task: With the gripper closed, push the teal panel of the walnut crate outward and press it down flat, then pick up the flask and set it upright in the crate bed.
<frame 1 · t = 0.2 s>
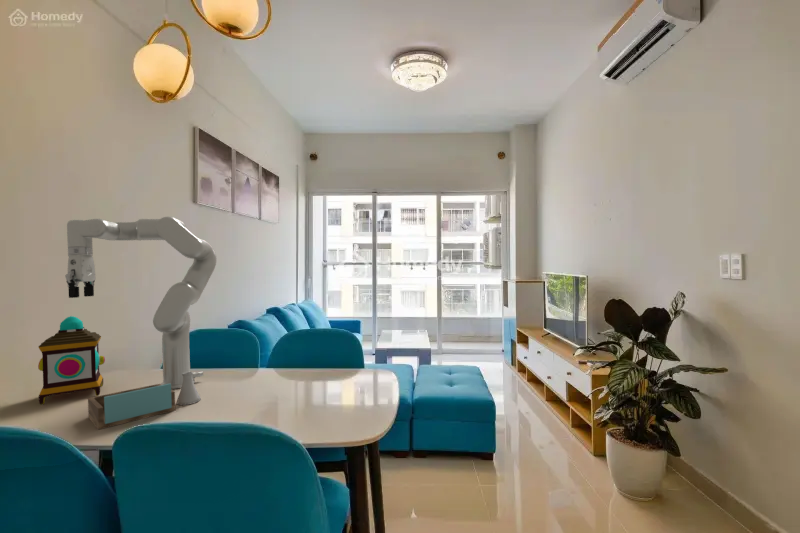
hand: (81, 296, 155), 37 cm above the table, tool pointing down, fingers open, 9 cm apart
crate: (132, 413, 128), on the table
flask: (188, 402, 138), on the table
decorative lantern: (73, 395, 154), on the table
teal panel: (139, 402, 122), point 5 cm above the table, hinge at 0.0°
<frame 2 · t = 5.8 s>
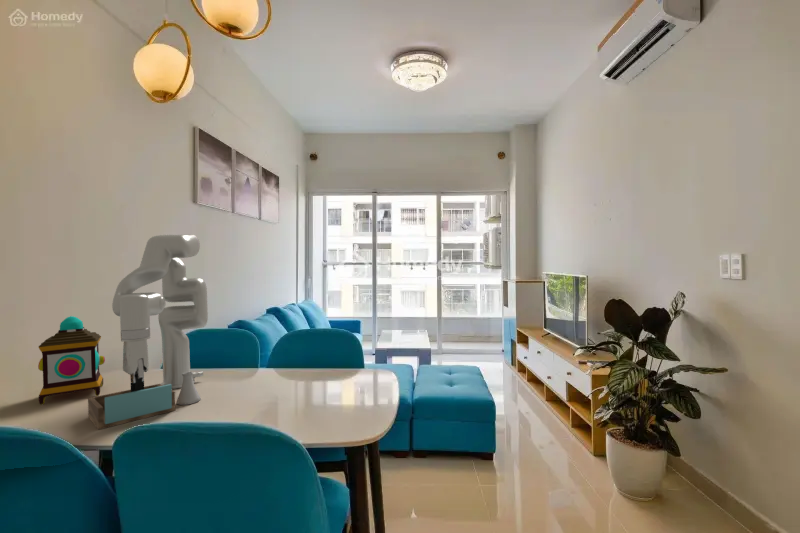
hand: (137, 394, 123), 7 cm above the table, tool pointing down, fingers closed
teal panel: (139, 403, 122), point 5 cm above the table, hinge at 5.6°, touching gripper
everything else where it was.
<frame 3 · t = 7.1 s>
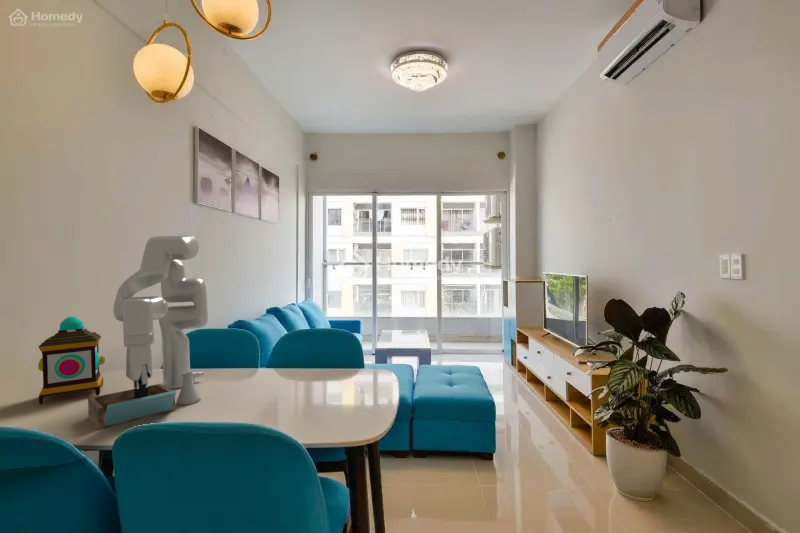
hand: (141, 401, 121), 6 cm above the table, tool pointing down, fingers closed
teal panel: (141, 407, 121), point 4 cm above the table, hinge at 36.5°, touching gripper
everything else where it was.
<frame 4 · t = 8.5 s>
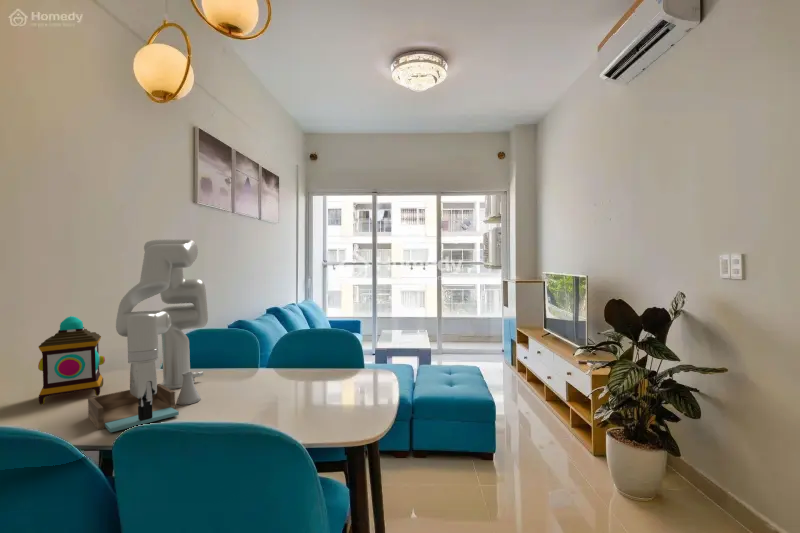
hand: (145, 418, 118), 2 cm above the table, tool pointing down, fingers closed
teal panel: (142, 418, 120), point 1 cm above the table, hinge at 89.0°
everything else where it was.
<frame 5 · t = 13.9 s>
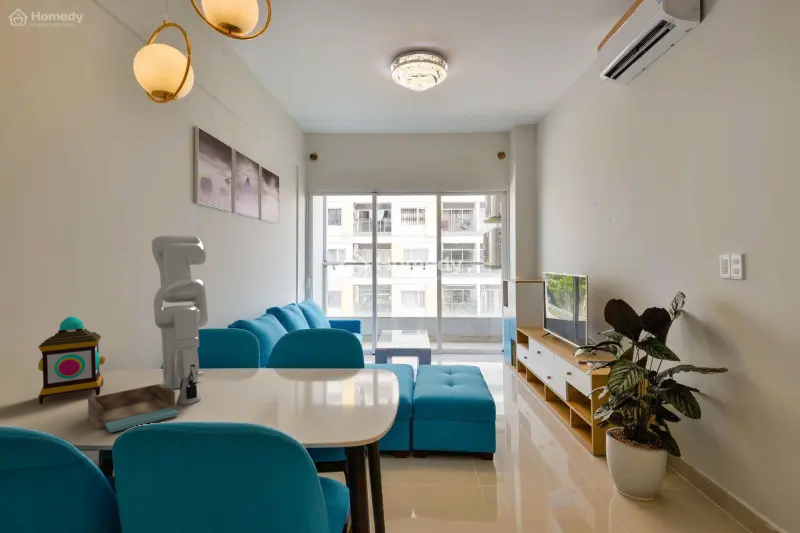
hand: (188, 396, 138), 2 cm above the table, tool pointing down, fingers closed on flask, 5 cm apart
flask: (188, 402, 138), on the table, touching gripper
everything else where it was.
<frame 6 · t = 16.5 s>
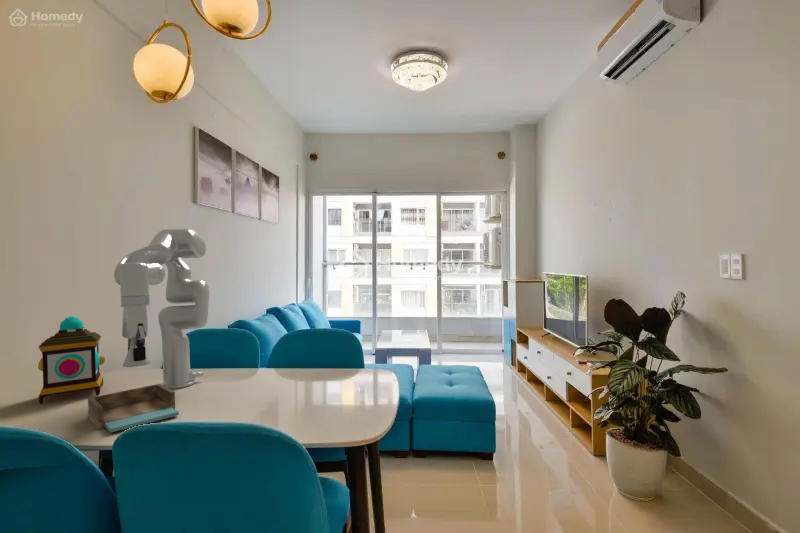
hand: (136, 358, 127), 18 cm above the table, tool pointing down, fingers closed on flask, 5 cm apart
flask: (137, 365, 127), point 15 cm above the table, touching gripper
everything else where it was.
when the fingers open (5 cm above the table, at t = 19.4 s): flask drops 1 cm, resting on crate.
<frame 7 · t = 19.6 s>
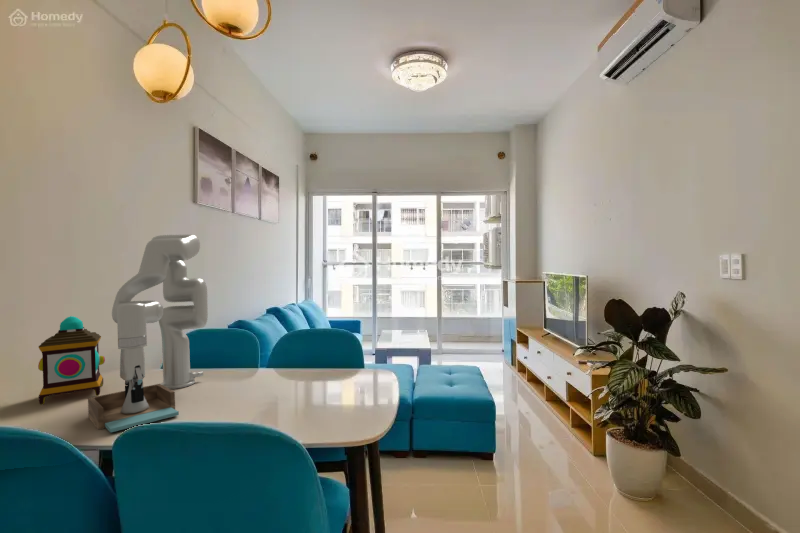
hand: (134, 399, 126), 5 cm above the table, tool pointing down, fingers open, 6 cm apart
flask: (135, 411, 126), point 1 cm above the table, touching crate
everything else where it was.
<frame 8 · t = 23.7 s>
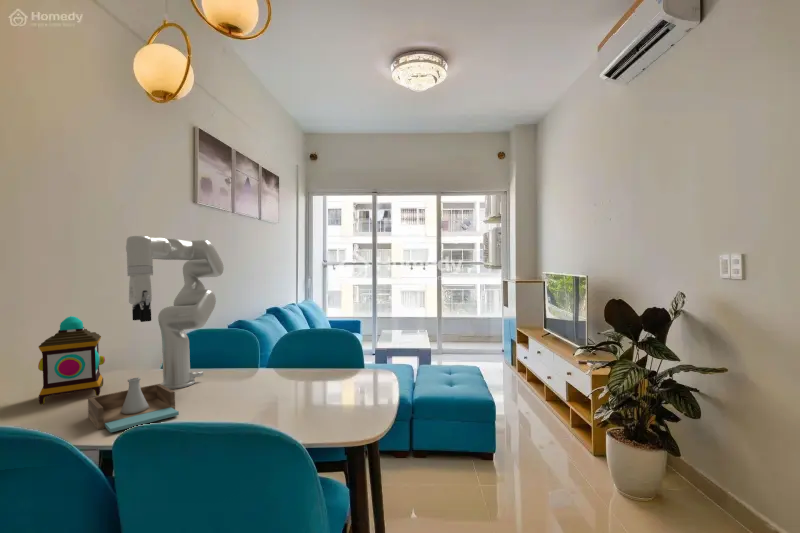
hand: (141, 320, 141), 28 cm above the table, tool pointing down, fingers open, 9 cm apart
nothing on the table moved.
at the end: teal panel at +89° (first picture: +0°); flask inside the target area on the crate (1.7 cm from its centre), point 1.3 cm above the crate's base; flask tilted 0° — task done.
